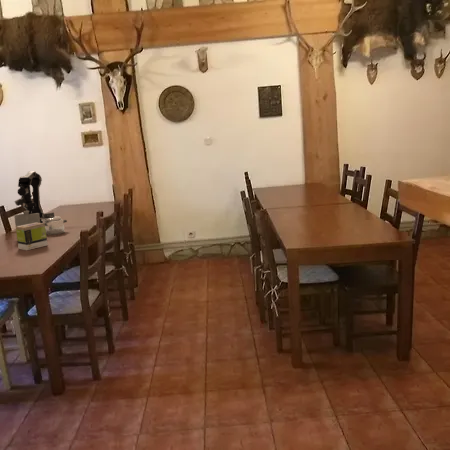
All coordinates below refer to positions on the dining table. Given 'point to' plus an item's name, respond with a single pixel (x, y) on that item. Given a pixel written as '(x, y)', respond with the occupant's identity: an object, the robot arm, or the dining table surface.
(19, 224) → the hip flask
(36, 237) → the tea box
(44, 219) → the cooker lid
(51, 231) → the cooker pot
